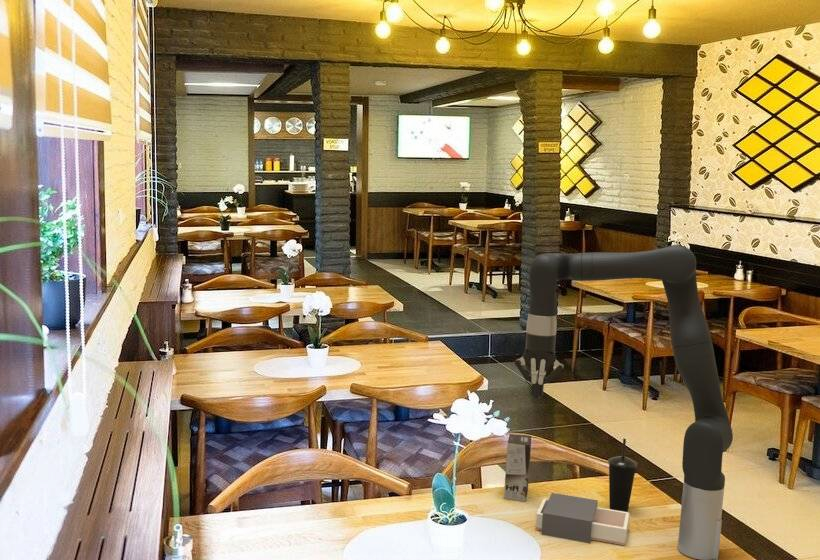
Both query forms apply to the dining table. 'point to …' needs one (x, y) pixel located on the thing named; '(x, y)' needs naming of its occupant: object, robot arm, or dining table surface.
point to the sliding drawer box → (600, 524)
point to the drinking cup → (621, 480)
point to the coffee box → (517, 467)
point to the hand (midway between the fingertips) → (536, 397)
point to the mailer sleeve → (569, 517)
